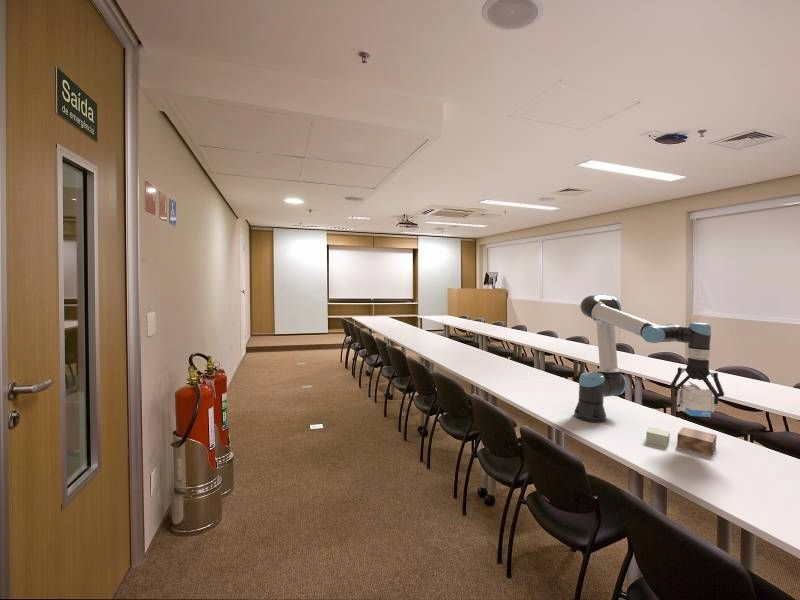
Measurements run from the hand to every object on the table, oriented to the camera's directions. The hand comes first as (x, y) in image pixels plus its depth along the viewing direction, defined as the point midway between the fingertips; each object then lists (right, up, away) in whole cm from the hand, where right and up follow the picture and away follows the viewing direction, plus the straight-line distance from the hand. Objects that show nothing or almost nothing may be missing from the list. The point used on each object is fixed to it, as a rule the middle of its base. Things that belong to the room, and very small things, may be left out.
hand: (695, 407), depth 168 cm
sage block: (-13, -17, +5) cm, 22 cm away
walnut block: (+1, -18, 0) cm, 18 cm away
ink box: (0, -3, 0) cm, 3 cm away
